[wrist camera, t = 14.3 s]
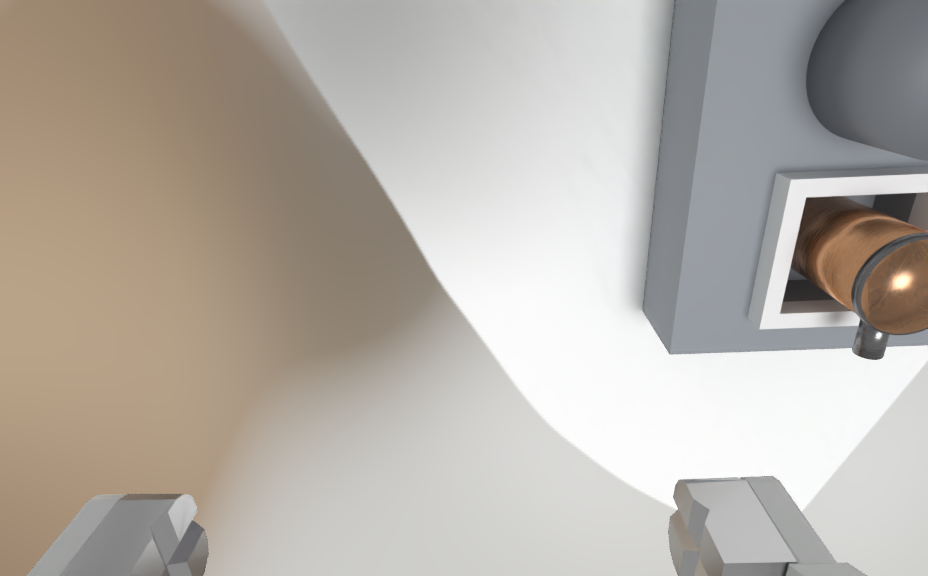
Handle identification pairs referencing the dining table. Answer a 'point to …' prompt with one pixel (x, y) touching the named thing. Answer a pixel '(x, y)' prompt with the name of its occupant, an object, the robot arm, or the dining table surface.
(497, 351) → the dining table surface
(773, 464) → the dining table surface
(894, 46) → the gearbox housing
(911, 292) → the spout can
